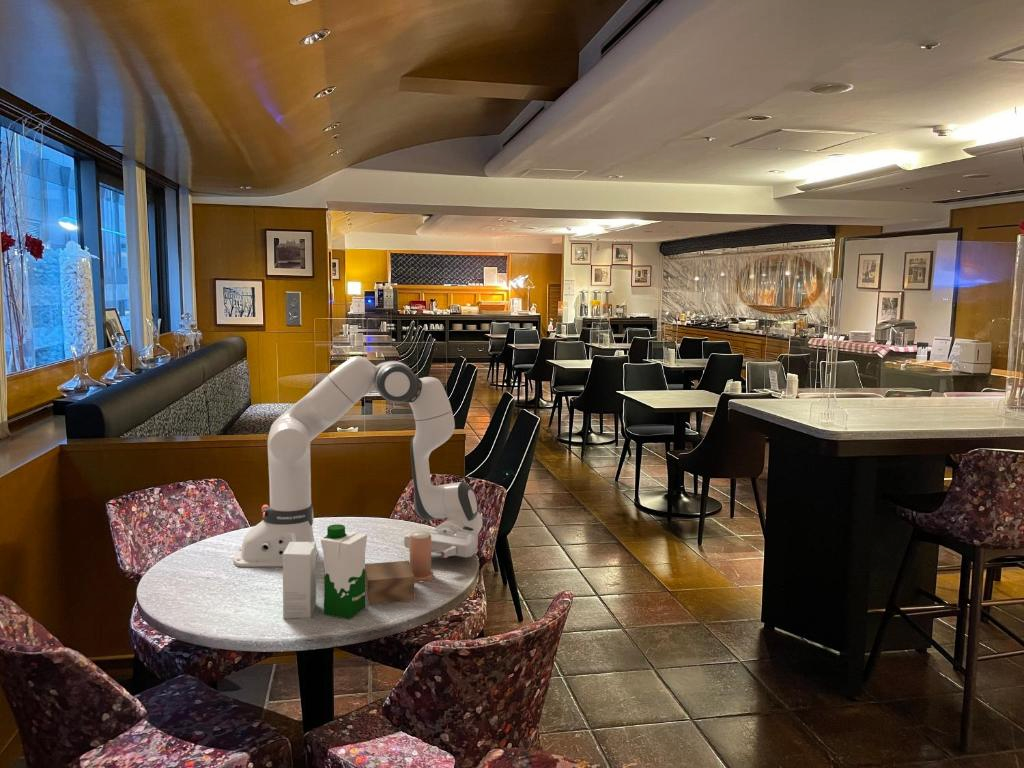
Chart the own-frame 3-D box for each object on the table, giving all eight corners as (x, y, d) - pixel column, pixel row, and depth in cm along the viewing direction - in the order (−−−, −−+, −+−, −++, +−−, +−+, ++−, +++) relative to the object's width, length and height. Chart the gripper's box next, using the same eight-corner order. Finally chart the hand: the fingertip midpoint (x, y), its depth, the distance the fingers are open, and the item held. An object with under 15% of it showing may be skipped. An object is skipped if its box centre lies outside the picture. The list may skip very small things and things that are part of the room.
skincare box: (290, 604, 178) (288, 541, 176) (318, 603, 178) (317, 540, 176) (282, 619, 169) (280, 553, 167) (312, 619, 170) (310, 553, 168)
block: (368, 604, 178) (368, 580, 178) (365, 586, 189) (364, 563, 188) (414, 600, 181) (414, 576, 180) (408, 583, 192) (408, 560, 191)
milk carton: (339, 600, 180) (338, 520, 178) (371, 606, 177) (371, 525, 175) (317, 615, 172) (316, 531, 169) (351, 621, 169) (350, 536, 166)
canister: (409, 582, 192) (409, 538, 190) (406, 573, 198) (406, 530, 197) (434, 580, 194) (435, 536, 192) (430, 571, 200) (431, 528, 198)
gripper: (417, 521, 215) (392, 535, 202) (482, 530, 208) (461, 545, 195) (417, 542, 216) (392, 557, 203) (482, 552, 209) (461, 569, 196)
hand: (427, 552), depth 199 cm, fingers open, 8 cm apart
